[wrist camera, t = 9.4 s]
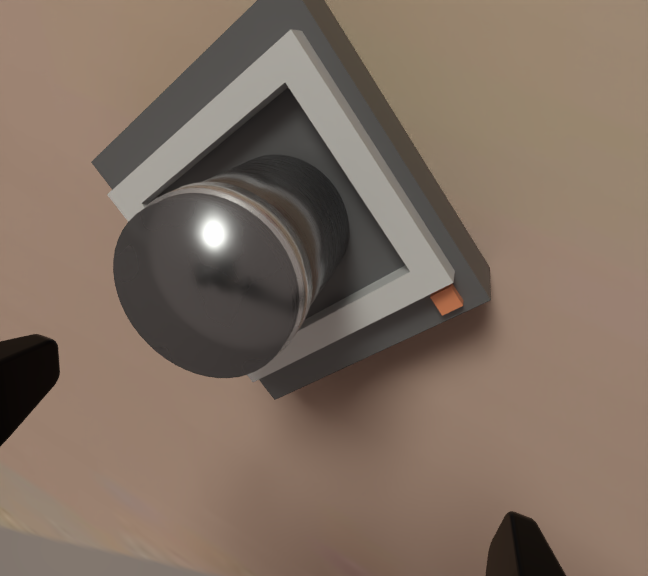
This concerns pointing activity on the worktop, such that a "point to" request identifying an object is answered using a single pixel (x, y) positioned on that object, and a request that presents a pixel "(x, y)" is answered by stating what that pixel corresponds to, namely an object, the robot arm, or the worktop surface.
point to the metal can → (231, 264)
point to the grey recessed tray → (328, 157)
